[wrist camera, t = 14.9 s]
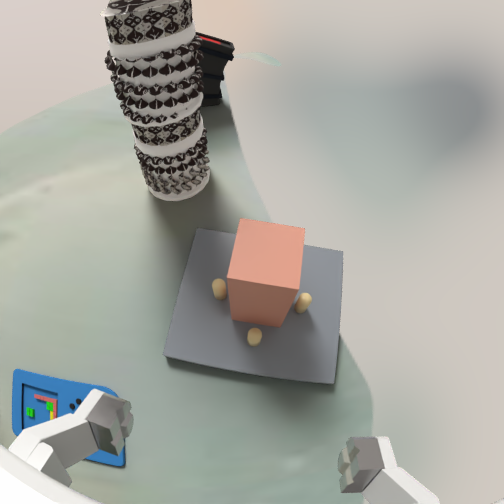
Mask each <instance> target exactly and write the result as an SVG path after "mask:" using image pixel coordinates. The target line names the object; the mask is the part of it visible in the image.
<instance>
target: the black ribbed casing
mask: <svg viewBox="0 0 504 504" xmlns="http://www.w3.org/2000/svg"><path fill="white" fill-rule="evenodd" d="M195 33H196V34H195V35H197V36H200V37H201V39H202V40H203V44H202V45H201V46H200V47H199V49H198V50H200V51H202V52H203V59H202V60H201V61H200V62H199V63H198V64H197V65H196V66H198V67H201V68H202V72H203V76H202V77H201V78H200V80H201V81H202V82H203V83H204V84H203V87H204V89H203V91H202V93H203V99H202V103H201V106H209V105H218V104H219V103H220V98H222V94H221V89H220V82H221V80H223V81H224V75H223V71H224V67H225V65H226V64H227V62H228V60H230V61H232V60H233V58H234V56H233V54H232V53H233V51H234V49H235V48H234V46H233V43H231V42H228V41H225V40H222V39H219V38H216V37H212V36H208V35H205V34H202V33H198V32H195ZM194 57H195V55H194ZM201 106H200V107H201Z"/></svg>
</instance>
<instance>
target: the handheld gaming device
mask: <svg viewBox="0 0 504 504" xmlns="http://www.w3.org/2000/svg"><path fill="white" fill-rule="evenodd" d="M93 389H97V390H100V391H103V392H105V393H108V394H110V395H113V396H116V397H118V396H117V394H116V393H115V392H113V391H112V390H111V389H109V388H107V387H103V386H97V385H91V384H85V383H79V382H74V381H68V380H63V379H58V378H54V377H49V376H44V375H40V374H36V373H32V372H28V371H24V370H20V369H15V370H14V373H13V389H12V429H13V432H14V434H15V435H17V436H19V435H20V433H21V432H22V431H23V430H24V429H26V428H29V427H32V426H35V425H38V424H41V423H44V422H47V421H50V420H53V419H55V418H58V417H61V416H64V415H66V414H69V413H71V414H74V413H75V411H76V410H77V409H78V407H79V406H80V405H81V403H82V402H83V401H84V399H85V398H86V397H87V395H88V394H89V393H90V391H91V390H93ZM118 398H119V397H118ZM123 440H124V439H123ZM84 459H88V460H92V461H96V462H101V463H105V464H110V465H114V466H123V465H124V464H125V449H124V447H123V449H122V451H121V452H120V454H119V456H116V455H113V454H110V453H108V452H105V451H102V450H100V449H99V450H98V451H97V452H95V453H93V454H91V455H90V456H88V457H86V458H84Z"/></svg>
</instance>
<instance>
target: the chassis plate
mask: <svg viewBox="0 0 504 504" xmlns="http://www.w3.org/2000/svg"><path fill="white" fill-rule="evenodd" d="M236 235H237V234H235V233H228V232H222V231H216V230H209V229H203V228H197V231H196V234H195V237H194V240H193V244H192V247H191V251H190V254H189V257H188V261H187V264H186V268H185V271H184V275H183V278H182V282H181V286H180V289H179V293H178V297H177V300H176V304H175V308H174V312H173V316H172V320H171V323H170V327H169V331H168V335H167V339H166V344H165V348H164V352H163V355H164V356H165V357H168V358H173V359H177V360H181V361H185V362H190V363H194V364H199V365H203V366H208V367H213V368H218V369H223V370H228V371H234V372H239V373H245V374H251V375H257V376H264V377H271V378H278V379H285V380H293V381H302V382H311V383H321V384H334V379H335V371H336V361H337V351H338V340H339V328H340V313H341V297H342V275H343V274H342V273H343V251H338V250H332V249H325V248H320V247H314V246H308V245H304V246H303V257H302V267H301V277H300V286H299V291H298V293H297V295H296V297H295V299H294V301H293V303H292V305H291V307H290V309H289V311H288V313H287V315H286V317H285V319H284V321H283V323H282V325H281V327H280V328H279V327H273V326H266V325H260V324H254V323H248V322H242V321H236V320H232V319H231V310H230V301H229V292H228V283H227V275H228V270H229V266H230V261H231V257H232V252H233V248H234V243H235V239H236Z"/></svg>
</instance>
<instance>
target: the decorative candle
mask: <svg viewBox="0 0 504 504" xmlns="http://www.w3.org/2000/svg"><path fill="white" fill-rule="evenodd" d="M100 16H104V17H105V22H106V27H107V31H108V36H109V39H108V45H109V51H108V52H107V57H106V58H105V63H106V64H107V69H108V70H111V71H112V73H113V74H112V75H111V81H112V82H114V87H115V88H114V90H115V92H116V93H117V95H116V97H117V99H119V100H122V102H121V104H120V107H121V109H123V113H124V116H125V118H126V119H127V120H128V121H129V122H130V123H131V124H132V127H133V135H134V140H135V145H134V148H135V150H136V155H137V157H138V159H139V160H140V162H139V163H140V166H141V170H142V173H143V175H144V178H145V179H146V180H145V181H146V184H147V185H148V189H149V190H150V192H151V193H152V194H153V195H154V196H155V197H157V198H160V199H162V200H165V201H181V200H184V199H187V198H191V197H193V196H194V195H196V194H197V193H199V192H200V191H202V190H203V188H204V187H205V186H206V184H207V183H208V181H209V176H210V168H209V166H208V164H207V163H209V162H210V160H209V158H208V157H204V156H205V155H206V154H208V153H209V151H208V150H207V146H206V144H207V139H206V136H205V135H206V133H207V131H206V129H205V128H203V119H202V116H201V114H200V106H201V103H202V99H203V93H202V91H203V89H204V87H203V84H204V83H203V82H202V81H201V80H200V78H201V77H202V76H203V72H202V68H201V67H198V66H196V65H197V64H198V63H199V62H200V61H201V60H202V59H203V52H202V51H200V50H198V49H199V47H200V46H201V45H202V44H203V40H202V39H201V37H200V36H197V35H195V34H196V33H195V22H194V21H193V19H192V4H191V0H110V1H109V4H108V6H107V8H106V9H105V10H103V11H102V12H101V14H100ZM194 55H195V57H194ZM111 57H115V59H114V60H115V61H116V65H115V63H114V62H113V60H112V58H111ZM117 75H119V76H120V77H119V78H118V76H117ZM123 92H124V93H123Z"/></svg>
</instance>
